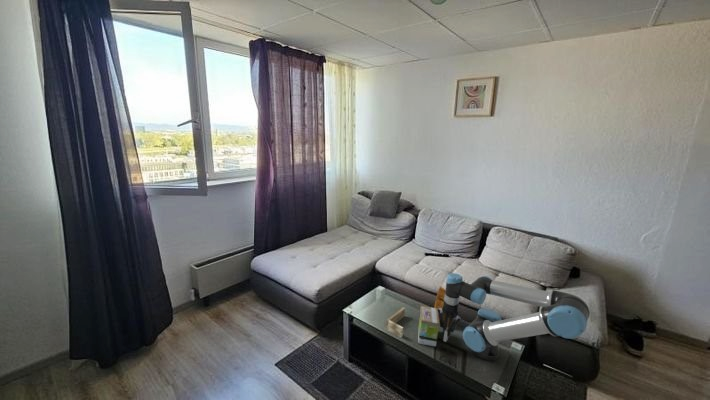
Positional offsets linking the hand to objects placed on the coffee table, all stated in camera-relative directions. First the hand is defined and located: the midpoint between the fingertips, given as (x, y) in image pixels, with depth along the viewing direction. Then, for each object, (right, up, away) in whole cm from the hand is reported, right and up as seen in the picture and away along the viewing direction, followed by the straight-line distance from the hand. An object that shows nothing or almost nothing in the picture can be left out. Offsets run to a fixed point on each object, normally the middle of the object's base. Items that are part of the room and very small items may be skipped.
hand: (445, 340), depth 158 cm
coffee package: (+5, +1, +23) cm, 24 cm away
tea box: (-9, -2, +7) cm, 11 cm away
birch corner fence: (-22, +1, +16) cm, 27 cm away
